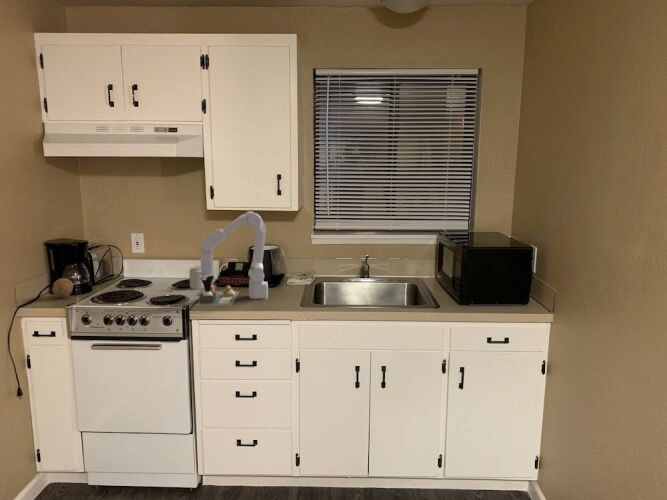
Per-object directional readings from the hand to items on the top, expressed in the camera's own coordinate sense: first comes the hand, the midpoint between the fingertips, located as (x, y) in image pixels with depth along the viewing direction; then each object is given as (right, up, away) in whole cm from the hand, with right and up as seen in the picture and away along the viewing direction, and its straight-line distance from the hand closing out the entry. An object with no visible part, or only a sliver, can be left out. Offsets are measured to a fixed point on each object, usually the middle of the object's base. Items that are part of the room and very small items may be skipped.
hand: (207, 291), depth 227 cm
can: (-13, -1, +26) cm, 29 cm away
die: (-3, -3, +14) cm, 14 cm away
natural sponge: (-73, -4, +5) cm, 73 cm away
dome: (0, -5, +1) cm, 5 cm away
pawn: (+8, -3, +11) cm, 13 cm away
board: (+4, -5, +6) cm, 9 cm away
